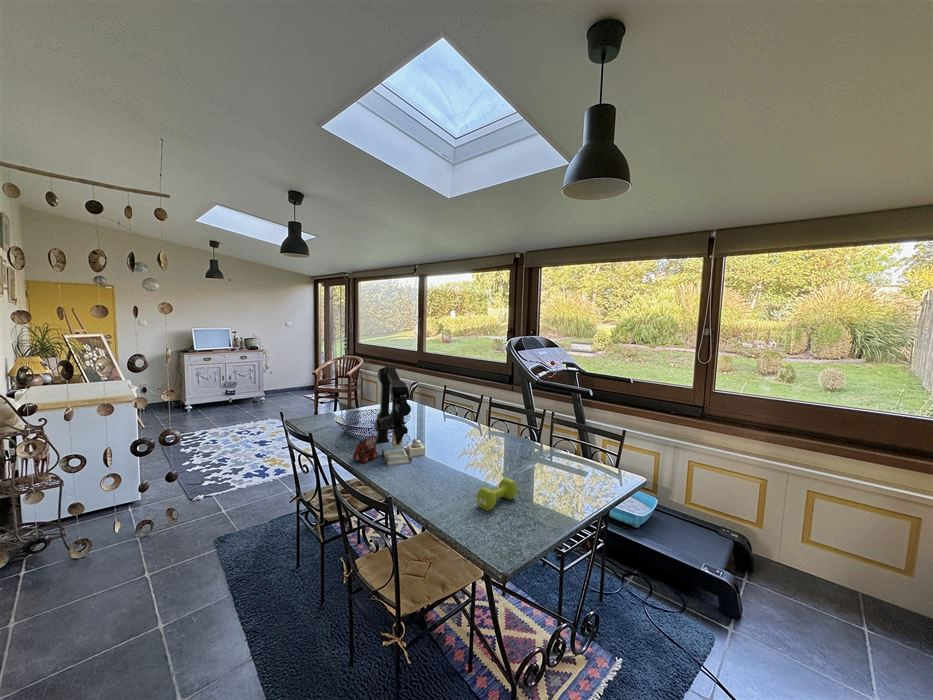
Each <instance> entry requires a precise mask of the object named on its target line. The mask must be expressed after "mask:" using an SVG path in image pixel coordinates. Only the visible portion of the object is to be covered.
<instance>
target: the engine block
mask: <svg viewBox="0 0 933 700" xmlns="http://www.w3.org/2000/svg"><path fill="white" fill-rule="evenodd" d="M391 432H392V431H391ZM391 434H392V435H391V438H392V439H391V445H392V447H393V448H400V447H401V448H402V447H403V439H402V440H401V442H400V444H399V445H397V444H396V437H395V434H394V433H393V432H392V433H391Z"/></svg>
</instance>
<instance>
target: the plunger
mask: <svg viewBox="0 0 933 700" xmlns="http://www.w3.org/2000/svg"><path fill="white" fill-rule="evenodd" d="M411 442H412V443H411V444H412V448H419V447H420V443H421V440H420V439H418V438H414V439H412V441H411Z"/></svg>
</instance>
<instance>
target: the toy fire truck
mask: <svg viewBox="0 0 933 700" xmlns="http://www.w3.org/2000/svg"><path fill="white" fill-rule="evenodd" d="M378 456H379V452H378V451H377V435H372V436H369V437H366V438H364V439H361V440H359V443H358V444H357V446H356V448H355V450H354V453H353V455H352V459H353V460H354V461H355V462H358V461H361V463H363V464H367V463H368V462H369V460H372V461H375V460H377V459H378Z"/></svg>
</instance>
